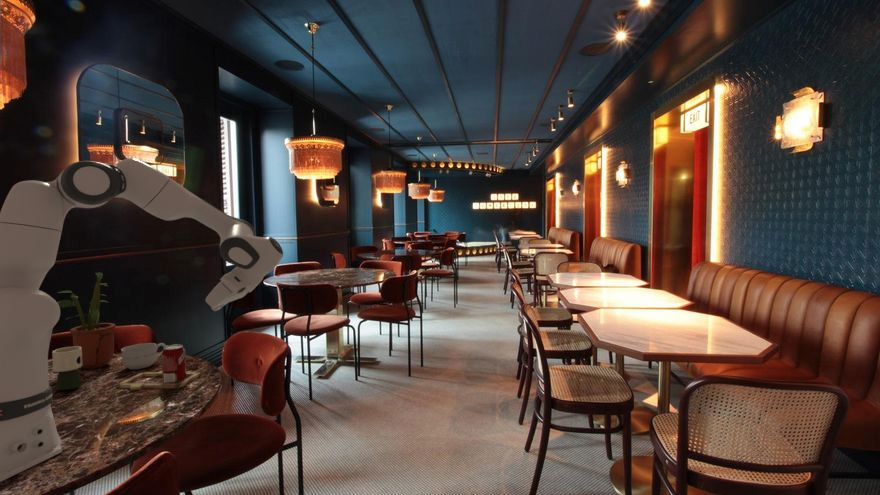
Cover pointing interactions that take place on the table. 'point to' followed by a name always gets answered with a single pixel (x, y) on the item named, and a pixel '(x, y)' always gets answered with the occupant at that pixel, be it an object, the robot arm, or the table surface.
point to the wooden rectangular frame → (139, 386)
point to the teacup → (140, 355)
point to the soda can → (173, 364)
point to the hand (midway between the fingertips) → (215, 309)
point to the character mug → (67, 367)
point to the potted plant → (92, 331)
